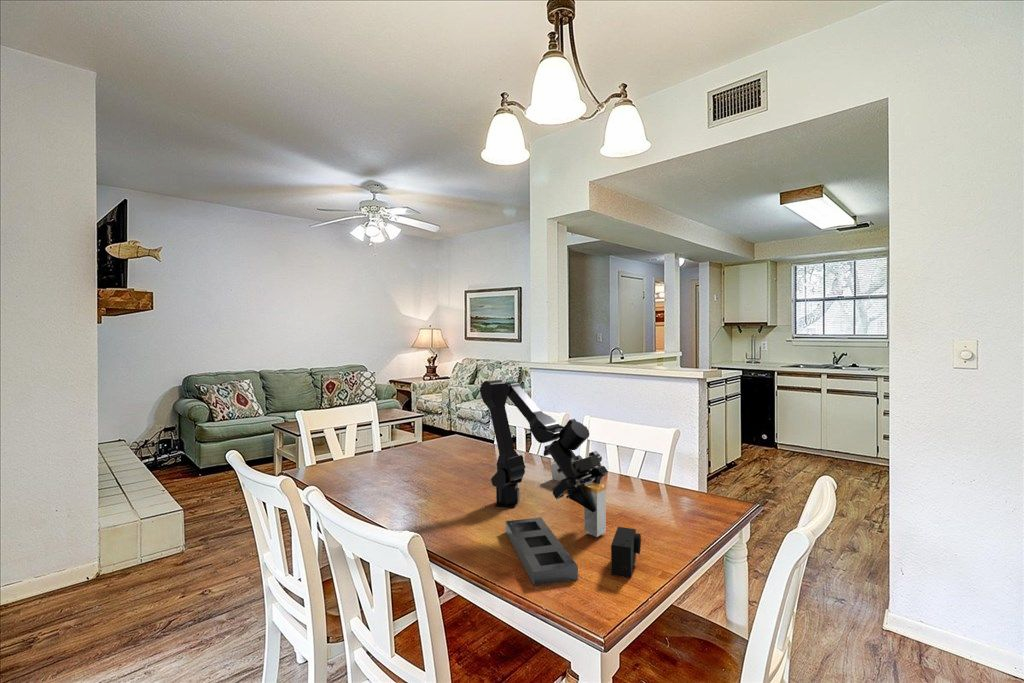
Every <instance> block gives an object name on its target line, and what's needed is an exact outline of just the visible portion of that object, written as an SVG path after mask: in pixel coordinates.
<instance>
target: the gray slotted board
mask: <svg viewBox="0 0 1024 683" xmlns="http://www.w3.org/2000/svg"><path fill="white" fill-rule="evenodd" d="M505 533H506V535H507V537H508V539H509V541H510V543H511V545H512V547H513V549H514V550H515V552H516V554H517V557H518V558H519V560H520V562H521V563H522V566H523V568H524V570H525V572H526V571H527V572H526V574H527V575H528V577H529V579H530V581H531V583H532V585H533V584H534V585H533V586H534V587H536V586H535V585H538V586H543V585H542V584H545V585H550V584H558V583H565V582H572V581H573V582H574V581H578V580H579V565H578V564H577V563H576V561H574V559H573V558H572V556H571V555H570V553H568V551H567V550H566V549H565V547H564V545H562V543H561V542H560V540H559V539H558V538H557V536H556V535H555V534H554V533H553V531H552V530H551V529H550V527H549V526H548V525H547V523H546V521H544V519H543V518H542V517H532V518H531V517H530V518H524V519H523V518H522V519H513V520H506V521H505Z"/></svg>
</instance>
